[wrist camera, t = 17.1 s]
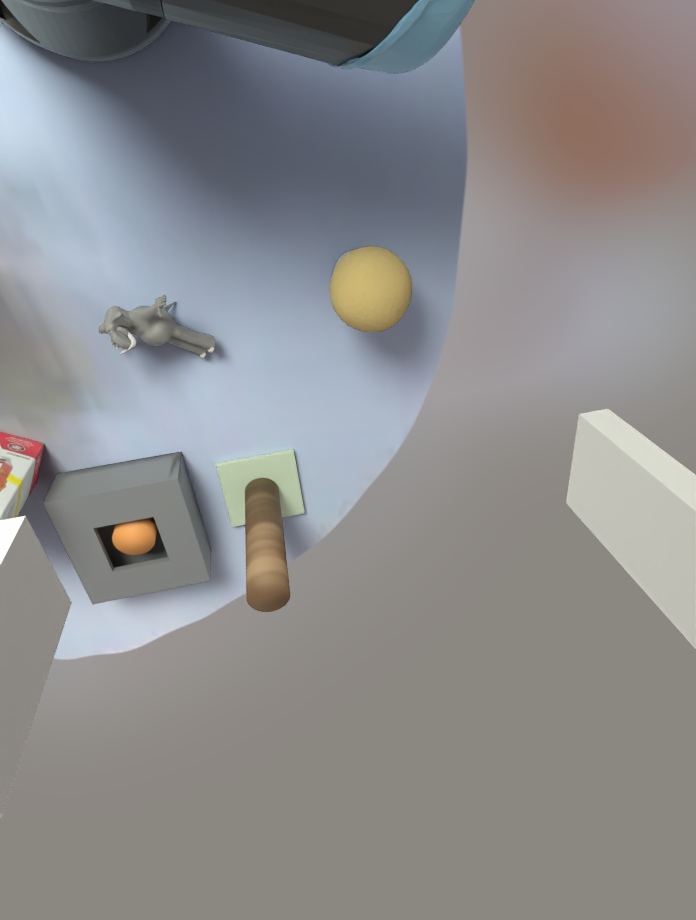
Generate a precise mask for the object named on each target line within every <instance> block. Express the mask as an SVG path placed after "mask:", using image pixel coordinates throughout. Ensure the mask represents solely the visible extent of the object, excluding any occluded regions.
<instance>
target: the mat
mask: <svg viewBox="0 0 696 920" xmlns="http://www.w3.org/2000/svg"><path fill="white" fill-rule="evenodd" d="M216 468H217V472H218V476H219V480H220V483H221V487H222V491H223V494H224V498H225V502H226V505H227V509H228V513H229V516H230V520H231V524H232V527H236V526H241V525H245V488H246V486H247V485H248V483H250V482H251V481H252V480H254V479H257V478H268V479H271V480H272V481H274V482H275V483H276V484H277V485H278V488H279V495H280V504H281V513H282V518H283V517H288V516H293V515H298V514H303V513H305V512H304V506H303V501H302V495H301V489H300V484H299V478H298V472H297V467H296V461H295V455H294V450H293V449H291V450H286V451H280V452H274V453H269V454H263V455H258V456H252V457H247V458H241V459H236V460H230V461H224V462H219V463H216Z"/></svg>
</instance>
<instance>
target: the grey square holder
mask: <svg viewBox="0 0 696 920" xmlns="http://www.w3.org/2000/svg"><path fill="white" fill-rule="evenodd" d="M42 504H43V506H44V508H45V510H46V512H47V514H48V516H49V518H50V520H51V522H52V524H53V526H54V528H55V530H56V532H57V534H58V536H59V538H60V540H61V542H62V544H63V546H64V548H65V550H66V552H67V554H68V556H69V558H70V560H71V562H72V564H73V566H74V568H75V570H76V572H77V574H78V576H79V578H80V580H81V582H82V584H83V586H84V588H85V590H86V592H87V594H88V596H89V598H90V600H91V602H92V604H97V603H102V602H107V601H112V600H117V599H122V598H127V597H132V596H137V595H142V594H147V593H152V592H156V591H161V590H166V589H171V588H176V587H181V586H186V585H191V584H196V583H201V582H206V581H210V570H211V547H210V544H209V541H208V537H207V534H206V531H205V528H204V524H203V521H202V518H201V514H200V511H199V508H198V505H197V501H196V498H195V495H194V492H193V488H192V485H191V482H190V479H189V475H188V472H187V469H186V466H185V462H184V459H183V456H182V452H177V453H171V454H165V455H160V456H154V457H148V458H143V459H137V460H131V461H126V462H120V463H114V464H109V465H103V466H97V467H92V468H86V469H80V470H74V471H69V472H63V473H57V474H56V476H55V478H54V481H53V483H52V485H51V487H50V489H49V491H48V493H47V495H46V497H45V499H44V501H43V503H42ZM151 517H154V519H155V522H156V525H157V534H156V540H155V544H154V546H153V548H152V549H151V550H149V551H148V552H146V553H144V554H140V555H129V554H125V553H123V552H121V551H119V550H118V549H117V548H116V547H115V546H114V544H113V541H112V536H113V532H114V528H115V525H116V524H119V523H124V522H130V521H135V520H140V519H146V518H151Z"/></svg>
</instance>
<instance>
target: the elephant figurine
mask: <svg viewBox="0 0 696 920" xmlns="http://www.w3.org/2000/svg"><path fill="white" fill-rule="evenodd" d="M165 302H166V296H165V295H163V296H162V297H160V298H157V299H156V300H155V304H154V305H152V306H140V307H137V308H136V309H134V310H132V311H126V310H124V309H122V308H120V307H117V306H113V307H111V308H109V309H108V311H107V312H106V316H105V320H104V324H102V325H101V326H99V333H101V334H102V333H107V334H109V335H110V336H111V339H112V340H111V344H112V345H113V344H114V343H116V349H118V348H119V346H120V347H123V348H125V349H124V350H123V352H122V353H121V354H123V353H125V352H127V351H128V350H129V349H134V348H135V347H136V338H135V337H134V336H132V335H131V334H133V335H135V336H137V337H139V338H140V339H141V340H142V341H143V342H144V343H146V344H149V345H153V346H162V345H164V344H165V343H166V342H167V343H169V344H172V345H175V346H178V347H180V348H183V349H186V350H189V351H191V352H193V353H196V354H198V355H200V357H201V358H204V357H205V356H206V350H207V349H208V351H209V352H213V351H214V348H215V339H214V336H211V335H208V334H204V333H200V332H195V331H192V330H190V329H188V328H186V327H183V326H180V325H178V324H176V323H175V321H174V320H173V318H172V317H171V316H170V314H169V313H168V312H167V311H168V310H169V309H170V307H171V306H172V305H173V304H175V303H176V302H175V303H172V304H170V305H168V306H165V307H163V306H164V305H166V303H165ZM121 354H120V355H121Z"/></svg>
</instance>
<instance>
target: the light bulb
mask: <svg viewBox="0 0 696 920" xmlns="http://www.w3.org/2000/svg"><path fill="white" fill-rule="evenodd" d="M411 293H412V282H411V277H410V274H409V271H408V269H407V267H406V266H405V264H404V263H403V261H402V260H401V259H400V258H399V257H398V256H397V255H395V254H394V253H392V252H391V251H389V250H387V249H384V248H381V247H376V246H367V247H361V248H358V249H355V250H350V251H347V252H345V253H344V254H343V255H342V256H340V257H339V259H338V260H337V262H336V264H335V269H334V272H333V275H332V277H331V282H330V298H331V302H332V305H333V308H334V310H335V312H336V313H337V315H338V316H339V317H340V319H341V320H342V321H344V322H345V323H346V324H347V325H349V326H350V327H352V328H354V329H357V330H360V331H365V332H378V331H383V330H386V329H388V328H390V327H392V326H393V325H394V324H396V323H397V322H398V321H399V320H400V319H401V317H402V316H403V315H404V313H405V311H406V309H407V307H408V305H409V302H410V299H411Z"/></svg>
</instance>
